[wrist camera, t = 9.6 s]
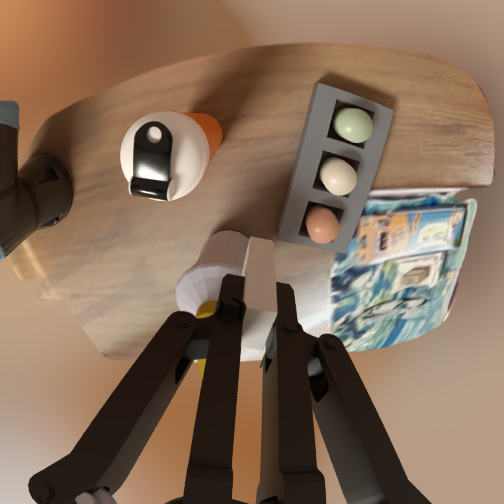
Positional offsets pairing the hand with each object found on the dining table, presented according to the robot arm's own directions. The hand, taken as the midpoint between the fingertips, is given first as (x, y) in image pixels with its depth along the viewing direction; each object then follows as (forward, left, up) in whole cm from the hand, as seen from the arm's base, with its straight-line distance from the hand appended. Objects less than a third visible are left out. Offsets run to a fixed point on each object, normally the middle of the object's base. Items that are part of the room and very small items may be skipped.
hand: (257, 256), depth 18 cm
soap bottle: (-2, -16, -27) cm, 31 cm away
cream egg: (+11, +2, -25) cm, 27 cm away
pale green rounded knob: (+11, +10, -25) cm, 29 cm away
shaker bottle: (-10, +3, -27) cm, 29 cm away
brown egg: (+11, -6, -25) cm, 28 cm away
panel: (+11, +2, -26) cm, 29 cm away
